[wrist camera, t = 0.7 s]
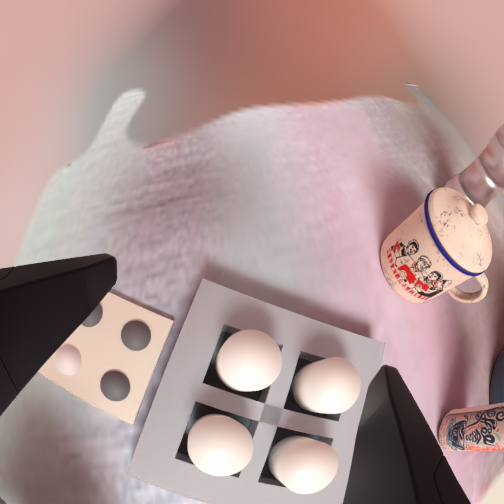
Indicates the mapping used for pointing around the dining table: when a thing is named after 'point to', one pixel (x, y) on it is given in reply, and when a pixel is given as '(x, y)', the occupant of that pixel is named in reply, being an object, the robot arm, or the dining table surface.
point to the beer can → (473, 429)
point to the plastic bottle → (483, 173)
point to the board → (248, 400)
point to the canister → (497, 381)
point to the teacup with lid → (439, 249)
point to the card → (111, 357)
